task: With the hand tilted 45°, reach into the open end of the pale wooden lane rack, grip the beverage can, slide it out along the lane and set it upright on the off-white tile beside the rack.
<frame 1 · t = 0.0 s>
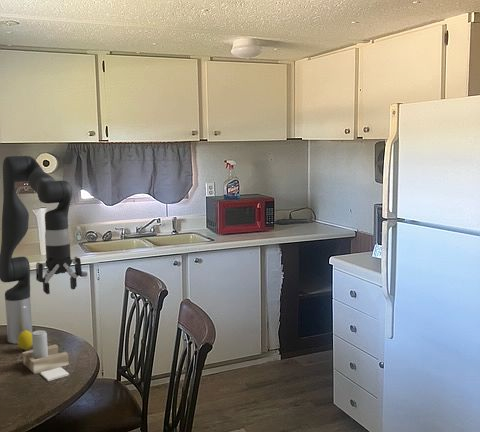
hand: (60, 291, 178), 29 cm above the table, tool pointing down, fingers open, 8 cm apart
lemon: (26, 350, 205), on the table
lane rack: (45, 363, 192), on the table
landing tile: (54, 374, 183), on the table
beverage can: (41, 365, 191), resting in lane rack
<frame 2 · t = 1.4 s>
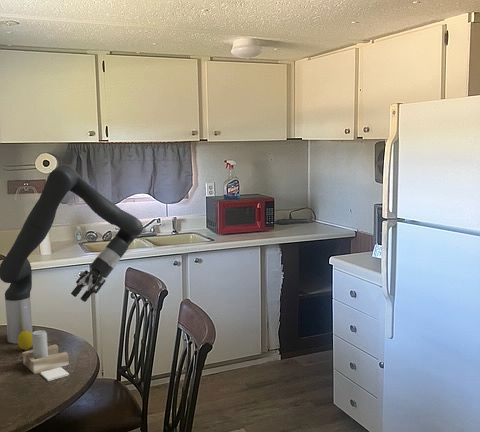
hand: (77, 298, 197), 22 cm above the table, tool tilted 45°, fingers open, 8 cm apart
nothing on the table moved.
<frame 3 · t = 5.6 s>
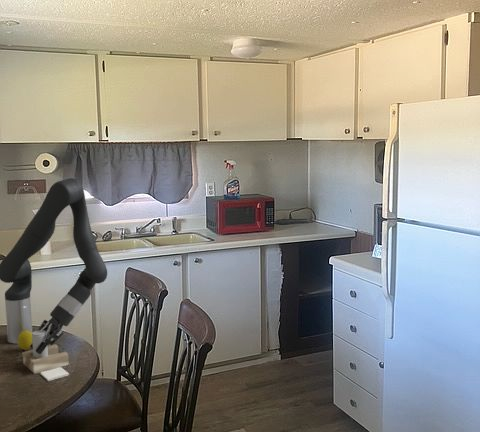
hand: (34, 350, 189), 6 cm above the table, tool tilted 45°, fingers closed on beverage can, 4 cm apart
beverage can: (41, 365, 191), resting in lane rack, touching gripper
everything else where it was.
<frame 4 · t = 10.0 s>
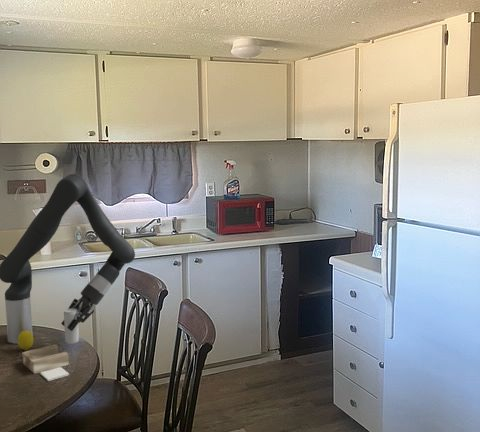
hand: (66, 327, 196), 11 cm above the table, tool tilted 45°, fingers closed on beverage can, 4 cm apart
beverage can: (72, 342, 198), point 5 cm above the table, touching gripper
everything else where it was.
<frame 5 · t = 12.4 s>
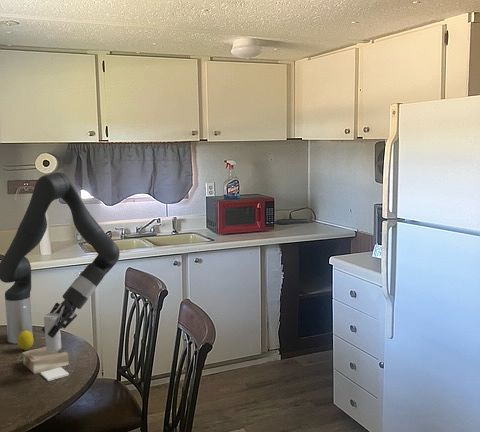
hand: (47, 333, 180), 15 cm above the table, tool tilted 45°, fingers closed on beverage can, 4 cm apart
beverage can: (53, 350, 182), point 9 cm above the table, touching gripper
everything else where it was.
when the fingers open (8 cm above the table, at t = 14.4 s): beverage can drops 1 cm, resting on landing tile.
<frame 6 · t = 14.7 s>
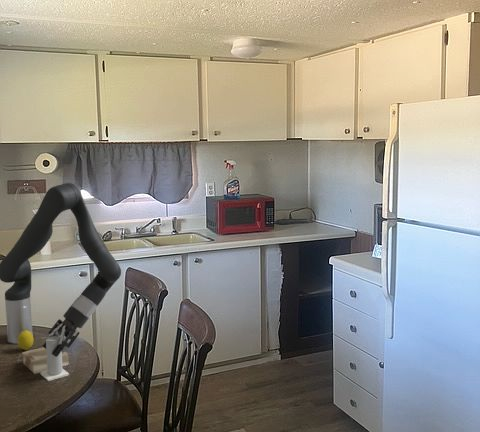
hand: (49, 351, 181), 8 cm above the table, tool tilted 45°, fingers open, 8 cm apart
beverage can: (55, 373, 183), resting on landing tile
everything else where it was.
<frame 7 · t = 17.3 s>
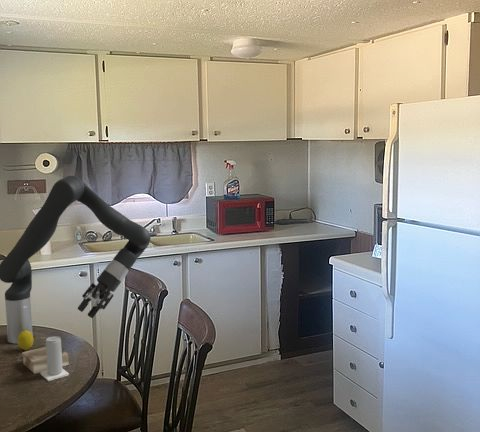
hand: (84, 313, 188), 19 cm above the table, tool tilted 45°, fingers open, 8 cm apart
nothing on the table moved.
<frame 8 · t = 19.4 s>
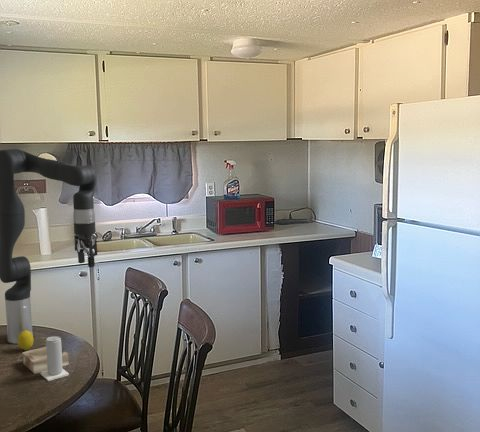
hand: (86, 264, 199), 33 cm above the table, tool pointing down, fingers open, 8 cm apart
nothing on the table moved.
at the end: beverage can 0.2 cm off-centre on the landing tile, point 0.4 cm above the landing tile's base; beverage can tilted 1°; the gripper is holding nothing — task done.
